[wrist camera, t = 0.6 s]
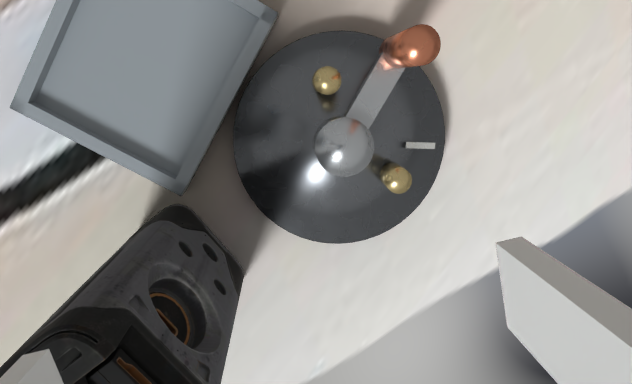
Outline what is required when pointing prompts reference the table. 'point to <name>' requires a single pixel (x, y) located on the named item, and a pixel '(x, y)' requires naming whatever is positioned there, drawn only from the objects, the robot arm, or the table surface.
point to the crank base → (302, 123)
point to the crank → (371, 102)
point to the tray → (143, 78)
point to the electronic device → (148, 310)
